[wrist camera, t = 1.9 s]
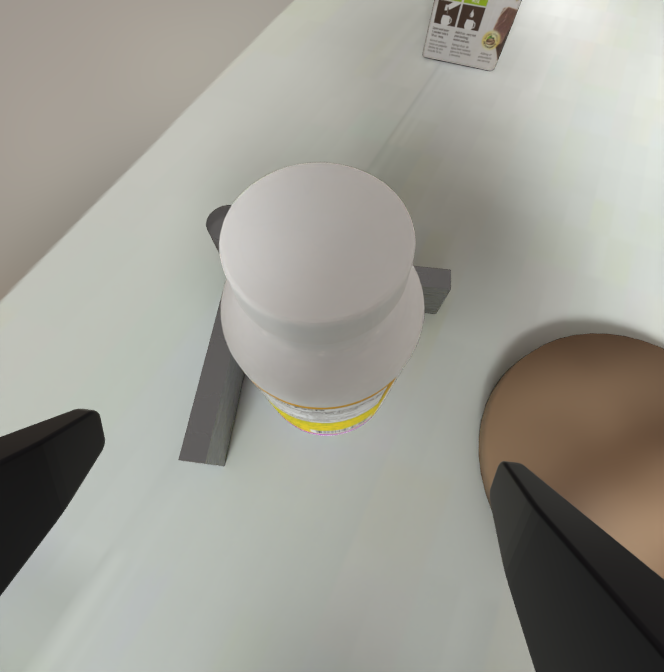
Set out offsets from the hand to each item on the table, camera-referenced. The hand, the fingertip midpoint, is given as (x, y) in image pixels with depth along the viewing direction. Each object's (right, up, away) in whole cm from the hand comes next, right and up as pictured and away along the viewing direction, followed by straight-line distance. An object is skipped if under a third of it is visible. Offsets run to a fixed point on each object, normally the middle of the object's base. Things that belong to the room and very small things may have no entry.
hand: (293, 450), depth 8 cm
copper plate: (+15, -4, +10) cm, 19 cm away
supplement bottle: (+1, 0, +13) cm, 13 cm away
